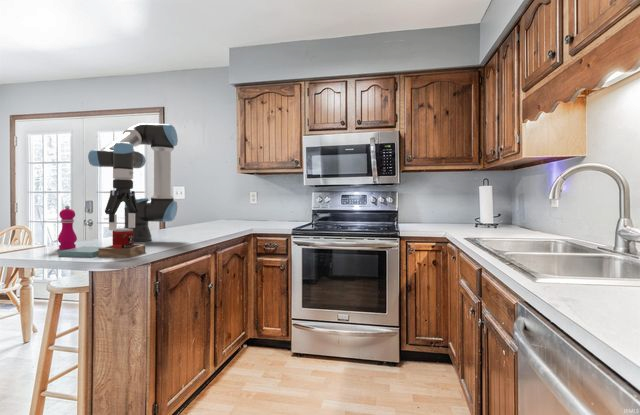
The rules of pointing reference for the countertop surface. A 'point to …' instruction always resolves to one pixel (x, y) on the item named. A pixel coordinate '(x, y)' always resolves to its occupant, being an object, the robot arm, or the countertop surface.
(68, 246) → the pepper mill
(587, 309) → the countertop surface
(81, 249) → the plate
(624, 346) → the countertop surface
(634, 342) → the countertop surface
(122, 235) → the canned food
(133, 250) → the collar
